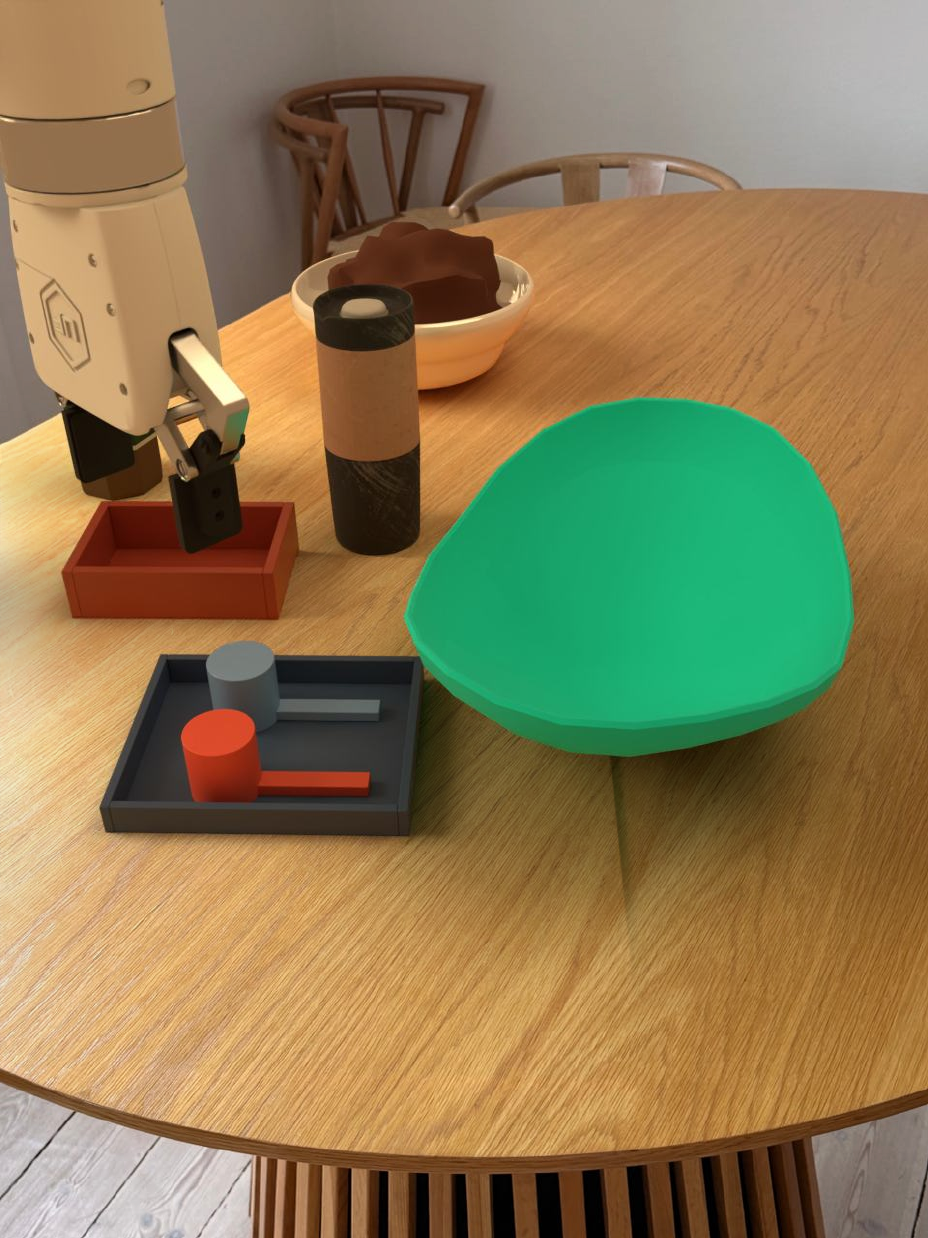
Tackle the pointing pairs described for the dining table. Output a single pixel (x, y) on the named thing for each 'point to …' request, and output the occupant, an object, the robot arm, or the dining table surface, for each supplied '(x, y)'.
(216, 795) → the red measuring scoop
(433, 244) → the bowl of brown chunks
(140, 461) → the beer bottle
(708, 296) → the dining table surface
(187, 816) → the dark grey tray
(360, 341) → the travel mug
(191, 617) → the red bin
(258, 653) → the grey handled cylinder
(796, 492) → the table top decor
